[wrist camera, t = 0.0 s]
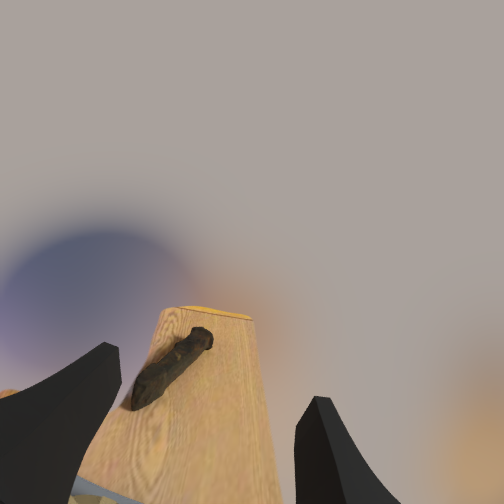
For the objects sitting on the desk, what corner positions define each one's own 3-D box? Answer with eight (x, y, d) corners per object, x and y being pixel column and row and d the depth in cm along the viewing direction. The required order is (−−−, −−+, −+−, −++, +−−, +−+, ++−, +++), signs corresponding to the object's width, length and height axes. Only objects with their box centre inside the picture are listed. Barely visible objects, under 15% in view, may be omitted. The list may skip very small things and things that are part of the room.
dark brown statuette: (191, 341, 47) (195, 318, 46) (212, 350, 46) (216, 328, 45) (116, 402, 30) (113, 377, 28) (140, 419, 29) (139, 394, 27)
